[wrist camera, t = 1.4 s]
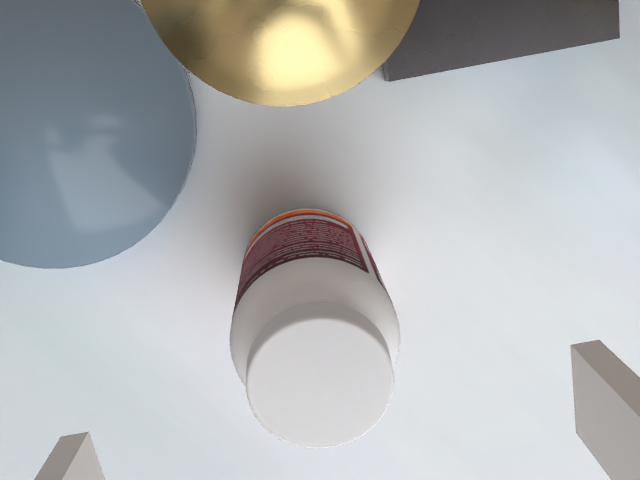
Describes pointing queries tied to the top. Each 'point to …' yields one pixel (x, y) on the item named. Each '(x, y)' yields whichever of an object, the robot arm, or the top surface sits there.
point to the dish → (87, 130)
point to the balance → (361, 39)
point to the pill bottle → (314, 330)
